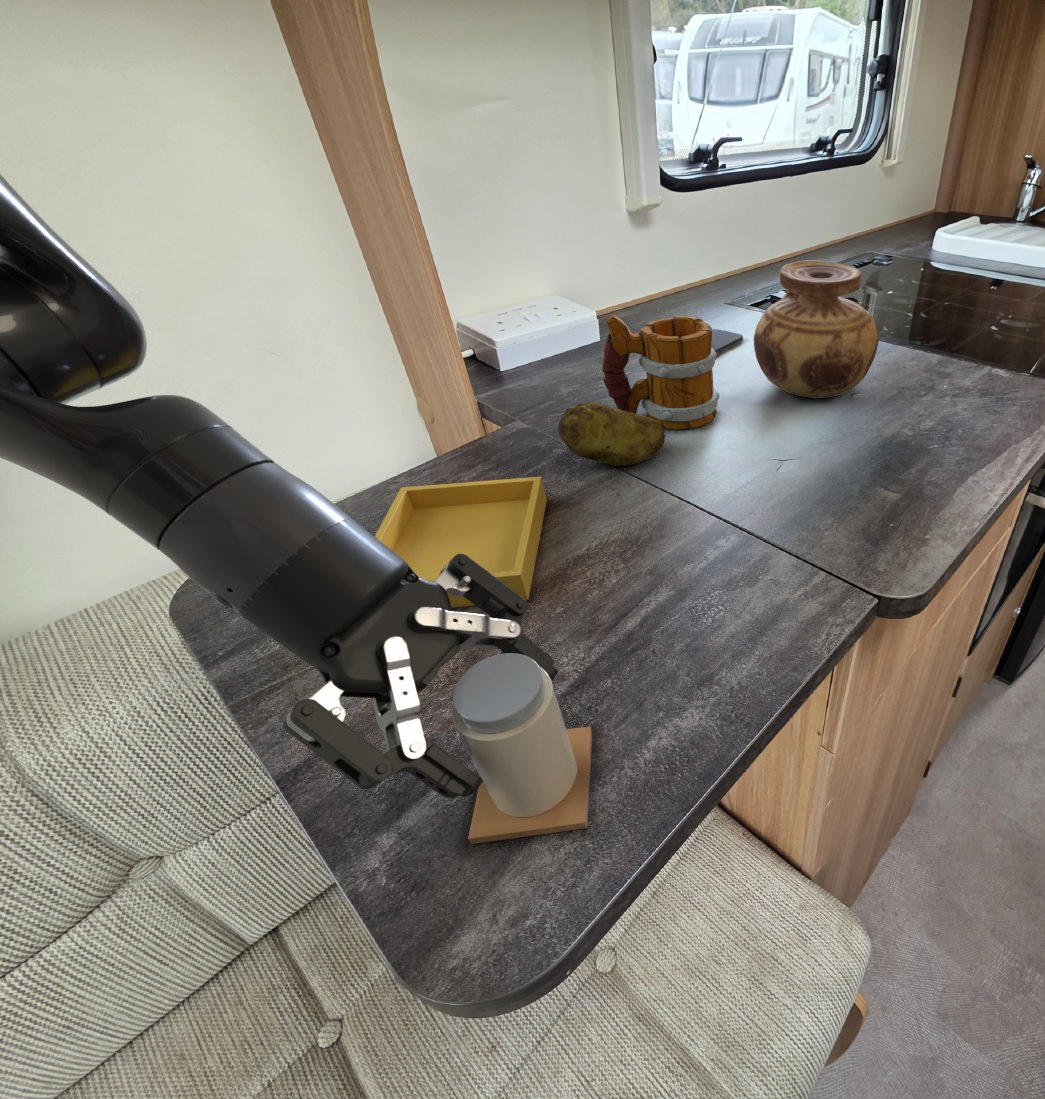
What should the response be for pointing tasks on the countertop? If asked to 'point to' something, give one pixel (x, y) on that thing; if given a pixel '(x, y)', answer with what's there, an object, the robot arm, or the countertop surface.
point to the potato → (610, 434)
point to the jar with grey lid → (515, 733)
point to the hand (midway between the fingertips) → (515, 730)
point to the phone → (724, 339)
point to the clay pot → (816, 332)
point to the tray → (469, 529)
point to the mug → (664, 370)
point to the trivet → (560, 818)
